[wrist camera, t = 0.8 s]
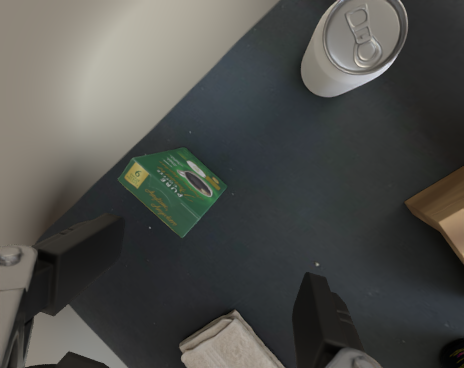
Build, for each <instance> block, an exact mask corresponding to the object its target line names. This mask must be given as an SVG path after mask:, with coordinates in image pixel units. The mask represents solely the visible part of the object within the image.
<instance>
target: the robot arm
mask: <svg viewBox="0 0 464 368" xmlns="http://www.w3.org/2000/svg"><path fill="white" fill-rule="evenodd" d="M124 227H125V220H124V218H123V217H119V216H116V215H112V214H109V213H105V214H103V215H101V216H99V217H97V218H95V219H94V220H89V221H85V222H80V223H77V224H75V225H73V226H71V227H69V228H68V229H65V230H63V231H61V232H60V233H59V234H58V233H57V234H55V235H53V236H51V237H49V238H47V239H45V240H43V241H41V242H39V243H37V244H35V245H33V246H31V247H30V246H26V245H7V246H0V368H24V367H25V362H26V357H27V353H28V348H29V343H30V338H31V333H32V329H33V323H34V316H35V315H36V314H38V313H39V312H43V313H46V314H49V315H52V316H55V315H56V314H57V313H58V312H59V311H60V310H62V309H63V308H64V307H65V306H66V305H67V304H69V303H70V302H71V301H72V300H73V299H74V298H76V297H77V296H78V295H79V294H80V293H81V292H82V291H84V290H85V289H86V288H87V287H88V286H89V285H90V284H92V283H93V282H94V281H95V280H96V279H97V278H99V277H100V276H101V275H102V274H103V273H104V272H105V271H107V270H108V269H109V268H110V267H111V266H112V265H113V264H114V263H115V262H116V261H117V259H118V258H119V255H120V253H121V248H122V241H123V234H124ZM292 323H293V334H294V345H295V355H296V366H297V368H383V367H382V366H381V365H380V364H379V363H378V362H377V361H376V360H374V359H373V358H372V357H370V356H369V355H367V354H366V353H365V351H364V349H363V346H362V344H361V341H360V339H359V336H358V334H357V331H356V329H355V326H354V325H353V321H352V319H351V316H349V311H348V309H347V306H346V304H345V303H344V302H343V300H342V299H341V298H340V297H339V296H338V295H337V294H336V293H333V292H331V291H330V288H329V285H328V282H327V280H326V278H325V277H323V276H319V275H316V274H312V273H309V272H306V273H305V275H304V278H303V280H302V283H301V286H300V289H299V292H298V295H297V298H296V301H295V304H294V308H293V314H292ZM25 368H109V367H108V366H106V365H105V364H104V363H101V362H98V361H95V360H92V359H90V358H87V357H84V356H81V355H78V354H75V353H72V352H68V353H67V354H66V355H65V356H64V357H63V358H62V359H61V360H60V362H59V363H58V364H45V365H44V364H43V365H35V366H29V367H25Z"/></svg>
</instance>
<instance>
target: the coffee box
mask: <svg viewBox="0 0 464 368" xmlns="http://www.w3.org/2000/svg"><path fill="white" fill-rule="evenodd" d="M118 181H119V182H120V183H121V184H123V185H124V186H125V187H126V188H127V189H128V190H129V191H130V192H131V193H133V194H134V195H135V196H136V197H137V198H138V199H139V200H140V201H141V202H142V203H143V204H145V205H146V206H147V207H148V208H149V209H150V210H151V211H152V212H153V213H155V214H156V215H157V216H158V217H159V218H160V219H161V220H162V221H163V222H164V223H166V224H167V225H168V226H169V227H170V228H171V229H172V230H173V231H174V232H176V233H177V234H178V235H179V236H180V237H181V238H183V237H184V236H185V235H186V234H187V233H188V232H189V231H190V230H191V228H192V227H193V226H194V225H195V224H196V223H197V222H198V221H199V220H200V219H201V218H202V216H203V215H204V214H205V213H206V212H207V211H208V210H209V208H210V207H211V206H212V205H213V204H214V203H215V202H216V200H217V199H218V198H219V197H220V195H221V194H222V193H223V192H224V191H225V190H226V189H227V187H228V186H227V185H226V184H225V183H224V182H223V181H221V179H219V177H217V176H216V175H215V174H214V173H213V172H211V171H210V170H209V169H208V168H207V167H206V166H205V165H204V164H203V163H202V162H201V161H199V160H198V159H197V158H196V157H195V156H194V155H193V154H192V153H191V152H190V151H189V150H187V149H186V148H185V147H183V148H178V149H174V150H169V151H164V152H159V153H154V154H149V155H144V156H139V157H135V158H132V159H131V160H130V162H129V164H128V165H127V167H126V168H125V170H124V171H123V173H122V174H121V176H120V177H119V178H118Z"/></svg>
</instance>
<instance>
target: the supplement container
mask: <svg viewBox="0 0 464 368" xmlns="http://www.w3.org/2000/svg"><path fill="white" fill-rule="evenodd" d="M441 365H442V368H464V340H459V341H456V342H454V343H452V344H450V345H449V346H447V347H446V348H445V350H444V351H443V353H442V356H441Z"/></svg>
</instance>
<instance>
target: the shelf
mask: <svg viewBox="0 0 464 368" xmlns="http://www.w3.org/2000/svg"><path fill="white" fill-rule="evenodd" d="M404 203H405V204H406V206H407V207H408V209H409V210H410V211H411V213H412V214H413V215H415V216H416V217H418V218H419V219H421V220H422V221H424V222H425V223H427V224H429V225H430V226H432V227H433V228H435V229H436V230H438V231H439V232H440V233H441V234H442V235H443V237H444V238H445V239H446V241H447V242H448V244H449V245H450V246H451V248H452V249H453V251H454V252H455V253H456V255H457V256H458V257H459V259H460V260H461V262H462V263H463V264H464V166H463V167H461V168H459V169H458V170H456V171H454V172H453V173H451V174H449V175H448V176H446V177H444V178H443V179H441V180H439V181H438V182H436V183H434V184H433V185H431V186H430V187H428V188H426V189H425V190H423V191H421V192H420V193H418V194H416V195H415V196H413V197H411V198H410V199H408V200H406V201H405V202H404Z"/></svg>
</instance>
